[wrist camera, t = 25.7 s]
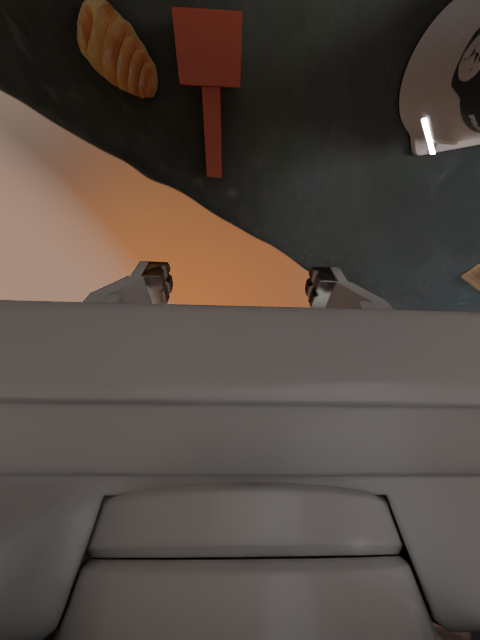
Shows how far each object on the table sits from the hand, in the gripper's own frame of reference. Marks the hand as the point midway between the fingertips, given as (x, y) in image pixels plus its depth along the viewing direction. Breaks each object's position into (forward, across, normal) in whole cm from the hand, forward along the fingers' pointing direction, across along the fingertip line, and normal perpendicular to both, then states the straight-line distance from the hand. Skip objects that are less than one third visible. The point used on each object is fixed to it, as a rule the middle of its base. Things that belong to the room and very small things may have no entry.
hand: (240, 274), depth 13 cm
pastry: (+35, +16, -12) cm, 41 cm away
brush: (+35, +4, -7) cm, 36 cm away
